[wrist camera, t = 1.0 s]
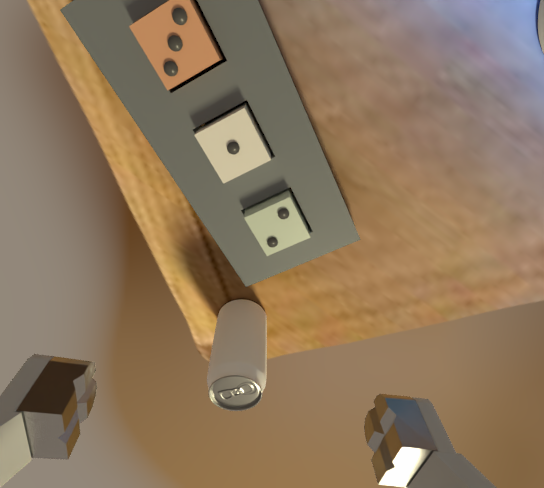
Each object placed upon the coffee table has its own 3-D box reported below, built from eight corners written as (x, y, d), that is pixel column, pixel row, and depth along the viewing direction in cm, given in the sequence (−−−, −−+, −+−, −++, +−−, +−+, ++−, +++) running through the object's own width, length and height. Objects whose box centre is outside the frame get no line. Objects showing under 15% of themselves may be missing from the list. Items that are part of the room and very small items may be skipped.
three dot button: (192, -6, 28) (184, -11, 25) (224, 58, 30) (219, 60, 28) (141, 27, 29) (128, 26, 26) (175, 86, 31) (166, 90, 29)
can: (274, 325, 48) (276, 404, 38) (231, 339, 49) (221, 419, 39) (254, 290, 45) (250, 366, 35) (209, 306, 46) (192, 383, 36)
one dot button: (246, 102, 32) (244, 108, 29) (270, 150, 34) (271, 160, 32) (199, 127, 33) (193, 135, 30) (226, 173, 36) (223, 184, 33)
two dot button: (288, 185, 36) (290, 197, 33) (307, 224, 39) (310, 238, 36) (245, 205, 37) (243, 218, 35) (266, 242, 40) (267, 257, 37)
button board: (220, -86, 27) (215, -99, 24) (354, 226, 40) (360, 239, 38) (78, 12, 30) (60, 9, 27) (247, 272, 43) (246, 286, 41)
